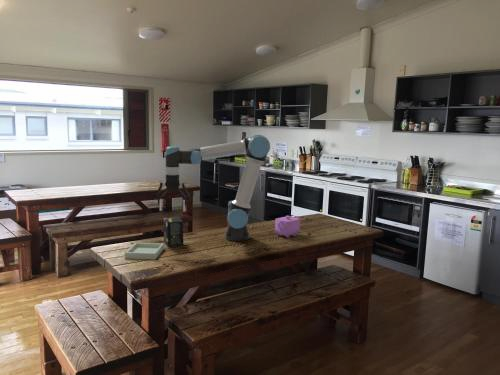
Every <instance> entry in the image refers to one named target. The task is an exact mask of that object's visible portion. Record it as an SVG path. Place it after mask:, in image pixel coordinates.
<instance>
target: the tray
mask: <svg viewBox="0 0 500 375" xmlns="http://www.w3.org/2000/svg"><path fill="white" fill-rule="evenodd" d="M164 249H165V243H164V242H163V243H162V242H161V243H158V242H135V243H134V244H132V245H131V246H130V247H129V248H128V249H127V250H126V251H125V252H124V259H131V260H132V259H135V260H137V259H138V260H156V259H157V258H158V257H159V255H160V254H161V253H162V252H163V251H164Z"/></svg>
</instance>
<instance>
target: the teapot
mask: <svg viewBox="0 0 500 375" xmlns="http://www.w3.org/2000/svg"><path fill="white" fill-rule="evenodd" d="M300 217H301V215H298V216H296V217H293V216H290V215H285V216H282V217H278V218H275V224H274V226H275V227H274V233H275V234H277V235H278V236H280V237H281V236H285V238H286V239H290V236H292V237H296V236H297V235H298V234H300V233H301V219H300Z"/></svg>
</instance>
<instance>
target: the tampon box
mask: <svg viewBox="0 0 500 375" xmlns="http://www.w3.org/2000/svg"><path fill="white" fill-rule="evenodd" d="M163 243H164V245H165V246H166V247H167V248H169V247H177V246H178V247H180V246H184V221H183V220H182V219H181V217H179V216H171V217H163Z"/></svg>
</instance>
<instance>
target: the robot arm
mask: <svg viewBox="0 0 500 375" xmlns="http://www.w3.org/2000/svg"><path fill="white" fill-rule="evenodd" d="M270 150H271V143H270V141H269V139H268V137H266V136H264V135H261V134H256V135H253V136H249V137H244V138H243V139H242V140H238V141H232V142H225V143H220V144H213V145H208V146H202V147H198V148H190V149H188V150H180V147H179V146H167V147H166V148H165V182H164V181H161V182H160V183H159V187H158V189H157V191H156V193H155V195H154V197H153V198H154V199H157V205H158V206H159V212H162V210H163V199H162V198H163V197H164V195H165V194H166V193H167V192H168V191H173V192H175V191H176V192H178V194H179V195H180V196H181V197H182V199H183V201H182V203H183V205H182V207H183V208H182V212H183V213H184V212H186V207H187V206H188V200H191V195H190V194H189V191H188V190H187V187H186V183H185V182H182V183H180V165H199V164H201V161H206V160H212V159H217V158H224V157H229V156H230V157H231V156H236V155H241V154H244V155H245V158H246V161H245V165H244V169H243V172H242V176H241V179H240V181H239V185H238V189H237V192H236V196H235V199H234V200H229V201H228V203H227V207H228V208H227V211H228V212H227V217H226V220H227V223H228V224H227V228H226V230H225V235H224V236H225V239H226V240H228V241H231V242H232V241H233V242H243V241H244V242H245V241H247V240H250V238H251V234H250V230H249V227H248V221H249V216H250V212H251V209H252V206H251V204H250V203H251V199H252V196H253V193H254V191H255V187H256V184H257V180H258V177H259V173H260V170H261V168H262V164H264V163H265V162H266V160H267V158H268V154H269V152H270ZM164 186H165V187H166V188H165V189H164V190H163V191H162V189H163V187H164ZM180 186H181V188H182V190H183V191H182V190H181V188H180ZM161 191H162V192H161Z"/></svg>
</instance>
